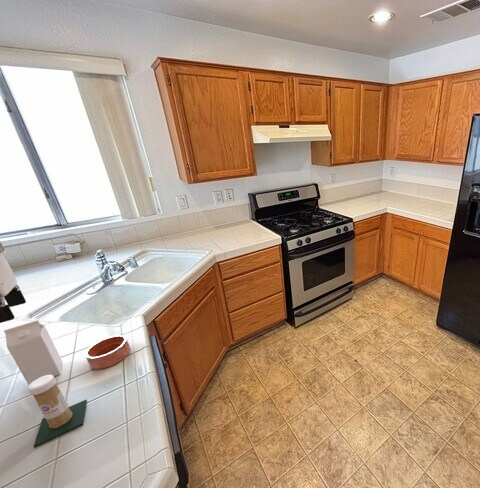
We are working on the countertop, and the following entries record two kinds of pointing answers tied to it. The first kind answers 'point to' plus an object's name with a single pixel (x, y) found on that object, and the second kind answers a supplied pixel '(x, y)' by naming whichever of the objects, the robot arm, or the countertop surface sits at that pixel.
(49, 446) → the countertop surface
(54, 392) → the sprinkles bottle
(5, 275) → the robot arm
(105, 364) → the bowl
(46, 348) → the milk carton
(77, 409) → the mat
